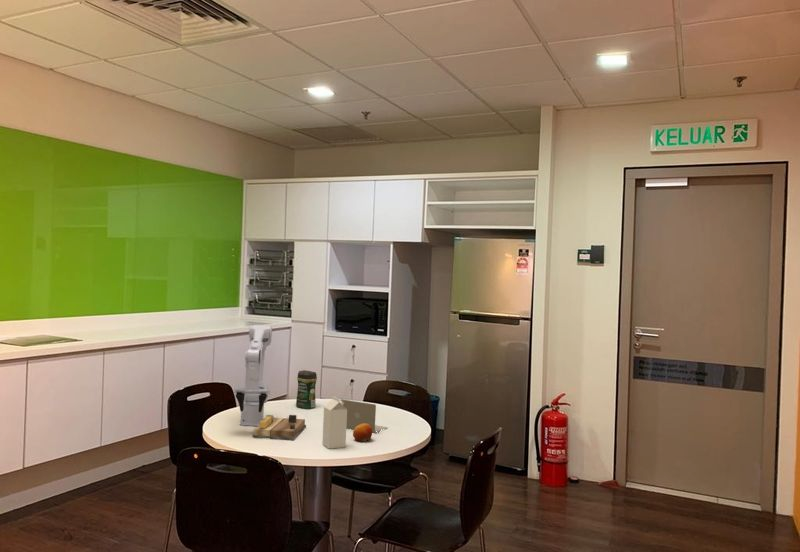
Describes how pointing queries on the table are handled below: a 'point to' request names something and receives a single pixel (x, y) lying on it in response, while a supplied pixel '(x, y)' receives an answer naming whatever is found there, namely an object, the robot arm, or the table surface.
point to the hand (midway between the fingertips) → (250, 411)
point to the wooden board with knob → (281, 429)
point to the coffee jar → (306, 389)
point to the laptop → (361, 415)
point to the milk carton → (334, 424)
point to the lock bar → (266, 421)
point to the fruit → (362, 432)
